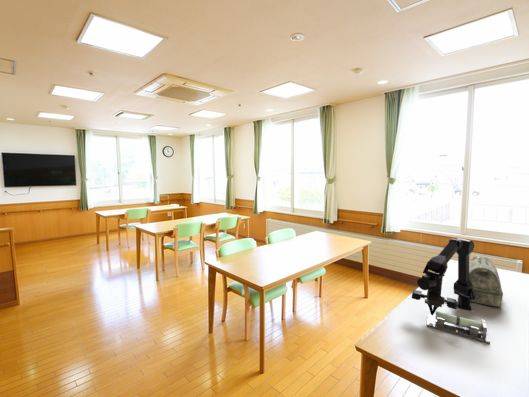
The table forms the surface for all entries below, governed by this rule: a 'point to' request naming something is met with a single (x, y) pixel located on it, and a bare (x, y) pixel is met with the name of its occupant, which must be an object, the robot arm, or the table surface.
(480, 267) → the lunch bag
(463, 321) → the tube
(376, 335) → the table surface
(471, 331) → the saddle plate
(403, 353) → the table surface
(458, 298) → the robot arm
